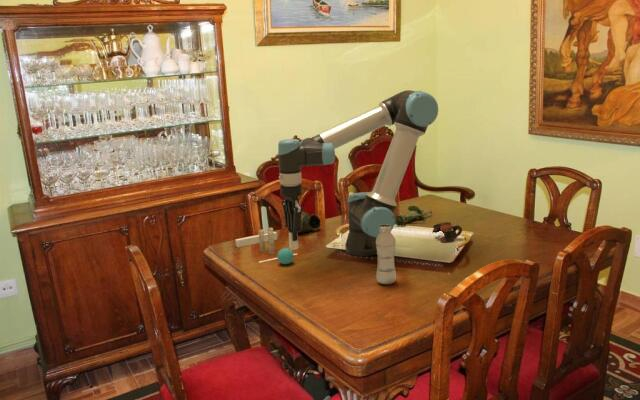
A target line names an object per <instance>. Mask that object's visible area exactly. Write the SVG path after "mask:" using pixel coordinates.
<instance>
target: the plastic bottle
mask: <svg viewBox="0 0 640 400" xmlns="http://www.w3.org/2000/svg"><path fill="white" fill-rule="evenodd" d="M379 231H380V234H379V235H378V237H377V238H376V247H377V254H376V255H377V266H376V267H377V269H376V275H375V277H376V281H377V283H379V284H380V285H392V284H393V283H395V281H396V278H397V272H396V267H395V250H396V244H397V243H396V237H395V236H394V234H393V233H392V230H391V225H389V224H382V225H380V226H379Z"/></svg>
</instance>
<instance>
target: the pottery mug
mask: <svg viewBox="0 0 640 400" xmlns="http://www.w3.org/2000/svg"><path fill="white" fill-rule="evenodd" d="M432 227H433V229H432V234H433V233H435V234H438V233H437V232H439V231H442V232H443V233H442V234H443V236H441V237H439V240H440V243H441V242H442V244H443V243H450V242H455V239H457V237H460V235H462V232H463V228H462V227H461V225H458V224H457V225H452V223H451V222H450V221H448V222H441V223H436V224H434V225H433V226H432ZM457 230H458V231H457ZM456 231H457V232H456Z"/></svg>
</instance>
